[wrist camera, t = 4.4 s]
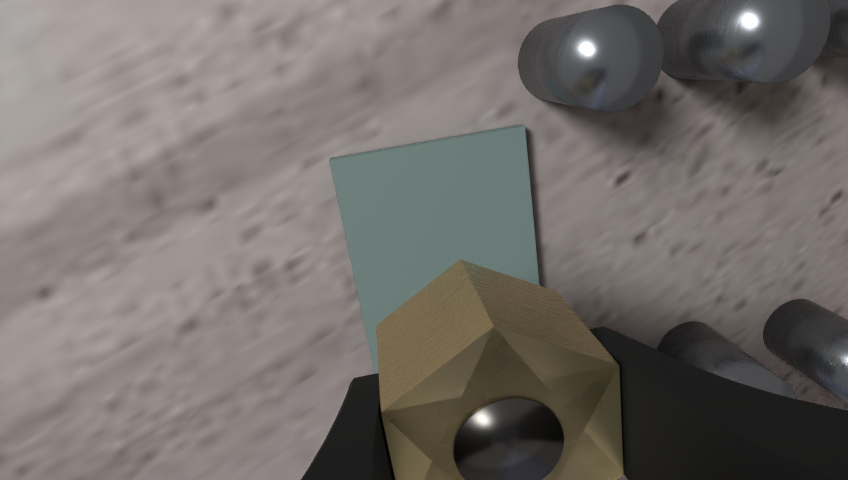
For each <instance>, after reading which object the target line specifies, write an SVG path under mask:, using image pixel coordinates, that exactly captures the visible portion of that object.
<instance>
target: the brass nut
mask: <svg viewBox="0 0 848 480" xmlns="http://www.w3.org/2000/svg"><path fill="white" fill-rule="evenodd" d="M376 335H377V353H378V370H379V388H380V405H381V415H382V420H383V425H384V429H385V434H386V439H387V443H388V448H389V453H390V457H391V462H392V467H393V471H394V476H395V480H617V479H619V478H620V477H622V476H623V450H622V425H621V399H620V373H619V364H618V363H617V362H616V361H615V360H614V358H613V357H612V356H611V355H610V354H609V352H608V351H607V350H606V349H605V348H604V347H603V345H602V344H601V343H600V342H599V341H598V340H597V338H596V337H595V336H594V335H593V334H592V333H591V331H590V330H589V329H588V328H587V327H586V325H585V324H584V323H583V322H582V321H581V320H580V318H579V317H578V316H577V315H576V314H575V313H574V311H573V310H572V309H571V308H570V307H569V306H568V304H567V303H566V302H565V301H564V300H563V298H562V297H561V296H560V295H559V294H558V293H557V291H554V290H551V289H548V288H545V287H542V286H539V285H536V284H533V283H530V282H527V281H524V280H521V279H518V278H515V277H512V276H509V275H506V274H503V273H500V272H497V271H494V270H491V269H488V268H485V267H482V266H479V265H476V264H473V263H470V262H467V261H464V260H461V259H460V260H458V261H457V262H456V263H455V264H453V265H452V266H451V267H449V268H448V269H447V270H446V271H444V272H443V273H442V274H441V275H439V276H438V277H437V278H436V279H434V280H433V281H432V282H430V283H429V284H428V285H427V286H425V287H424V288H423V289H422V290H420V291H419V292H418V293H417V294H415V295H414V296H413V297H411V298H410V299H409V300H408V301H406V302H405V303H404V304H403V305H401V306H400V307H399V308H398V309H396V310H395V311H394V312H392V313H391V314H390V315H389V316H387V317H386V318H385V319H384V320H382V321H381V322H380V323H379V324H377V325H376Z"/></svg>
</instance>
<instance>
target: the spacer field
mask: <svg viewBox="0 0 848 480" xmlns="http://www.w3.org/2000/svg"><path fill="white" fill-rule="evenodd" d="M818 57H848V0H679V1H677V2H675V3H674V4H672V5H671V6H670V7H669V8H668V9H667V10H666V11H665V12H664V13H663V15H662V16H661V18H660V19H659V21H658V23H657V25H656V24H655V22H654V21H653V20H652V19H651V18H650V16H649V15H647V14H646V13H645V12H643V11H642V10H640V9H638V8H635V7H633V6H628V5H613V6H608V7H604V8H599V9H594V10H590V11H585V12H581V13H576V14H572V15H567V16H563V17H558V18H554V19H549V20H546V21H544V22H542V23H540V24H538V25H537V26H536V27H534V28H533V29H532V30H531V31H530V32H529V34H528V35H527V36H526V38H525V39H524V41H523V43H522V45H521V48H520V52H519V57H518V69H519V74H520V78H521V80H522V82H523V84H524V86H525V87H526V88H527V90H528V91H529V92H530V93H531V94H533V95H534V96H536V97H537V98H539V99H542V100H545V101H551V102H556V103H561V104H566V105H572V106H577V107H582V108H588V109H593V110H598V111H604V112H615V111H621V110H624V109H627V108H629V107H631V106H633V105H635V104H636V103H638V102H639V101H641V100H642V99H643V98H644V97H645V96H646V95H647V94H648V93H649V92H650V90H651V89H652V87H653V86H654V84H655V83H656V81H657V79H658V76H659V74H660V71H661V69H662V70H663V71H664V72H665V73H667V74H668V75H670V76H672V77H675V78H679V79H698V80H720V81H741V82H763V83H781V82H785V81H788V80H791V79H793V78H795V77H797V76H799V75H800V74H802V73H803V72H804V71H806V70H807V69H808V68H809V67H810V66H811V65H812V64H813V63H814V61H815V60H816V59H817V58H818ZM763 338H764V343H765V345H766V347H767V348H768V350H770V351H771V352H772V353H774V354H775V355H776V356H778V357H779V358H781V359H782V360H784V361H785V362H787V363H788V364H790V365H791V366H793V367H794V368H796V369H797V370H798V371H800V372H801V373H803V374H804V375H806V376H807V377H809V378H810V379H812V380H813V381H815V382H816V383H817V384H819V385H820V386H822V387H823V388H825V389H826V390H828V391H829V392H831V393H832V394H834V395H835V396H836V397H838V398H839V399H841V400H842V401H844V402H845V403H847V404H848V320H847V319H845V318H843V317H841V316H839V315H837V314H835V313H833V312H831V311H829V310H827V309H825V308H823V307H821V306H819V305H817V304H815V303H814V302H811V301H809V300H805V299H797V300H792V301H789V302H787V303H785V304H783V305H782V306H780V307H779V308H778V309H776V310H775V311H774V312H773V313H772V315H771V316H770V317H769V319H768V321H767V323H766V325H765V328H764V333H763ZM658 351H660V352H662V353H664V354H666V355H669V356H671V357H673V358H676V359H678V360H680V361H683V362H685V363H688V364H690V365H692V366H695V367H697V368H700V369H703V370H705V371H708V372H711V373H713V374H716V375H718V376H721V377H724V378H727V379H729V380H732V381H735V382H738V383H741V384H745V385H748V386H751V387H754V388H758V389H761V390H764V391H768V392H771V393H774V394H778V395H782V396H786V397H789V398H793V399H796V395H795V392H794V390H793V389H792V388H791V386H790V385H788V384H787V383H786V382H784V381H783V380H782V379H780V378H779V377H778V376H776V375H775V374H773V373H772V372H771V371H769V370H768V369H767V368H765V367H764V366H763V365H761V364H760V363H758V362H757V361H756V360H754V359H753V358H752V357H750V356H749V355H747V354H746V353H745V352H743V351H742V350H741V349H739V348H738V347H737V346H735V345H734V344H732V343H731V342H730V341H728V340H727V339H726V338H724V337H723V336H721V335H720V334H719V333H717V332H716V331H715V330H713V329H712V328H711V327H709V326H708V325H706V324H704V323H701V322H686V323H683V324H680V325H678V326H676V327H675V328H673V329H672V330H670V331H669V332H668V333H667V334H666V335H665V336H664V338H663V339H662V341H661V343H660V345H659V347H658ZM623 475H625V474H624V473H623Z"/></svg>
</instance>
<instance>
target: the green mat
mask: <svg viewBox="0 0 848 480" xmlns="http://www.w3.org/2000/svg"><path fill="white" fill-rule="evenodd" d="M329 161H330V166H331V170H332V175H333V180H334V184H335V189H336V194H337V199H338V203H339V208H340V213H341V217H342V222H343V227H344V231H345V236H346V241H347V245H348V250H349V255H350V259H351V264H352V269H353V274H354V278H355V283H356V288H357V292H358V297H359V302H360V306H361V311H362V316H363V320H364V325H365V330H366V335H367V339H368V344H369V349H370V353H371V358H372V363H373V367H374V372H375V374H377V373H379V370H378V353H377V335H376V325H377V324H379V323H380V322H381V321H382V320H384V319H385V318H386V317H387V316H389V315H390V314H391V313H392V312H394V311H395V310H396V309H398V308H399V307H400V306H401V305H403V304H404V303H405V302H406V301H408V300H409V299H410V298H411V297H413V296H414V295H415V294H417V293H418V292H419V291H420V290H422V289H423V288H424V287H425V286H427V285H428V284H429V283H430V282H432V281H433V280H434V279H436V278H437V277H438V276H439V275H441V274H442V273H443V272H444V271H446V270H447V269H448V268H449V267H451V266H452V265H453V264H455V263H456V262H457V261H458V260H460V259H461V260H464V261H467V262H470V263H473V264H476V265H479V266H482V267H485V268H488V269H491V270H494V271H497V272H500V273H503V274H506V275H509V276H512V277H515V278H518V279H521V280H524V281H527V282H530V283H533V284H536V285H539V275H538V264H537V253H536V242H535V231H534V220H533V209H532V198H531V187H530V176H529V165H528V154H527V143H526V132H525V126H523V125H515V126H510V127H504V128H498V129H493V130H487V131H481V132H476V133H470V134H464V135H458V136H453V137H447V138H441V139H436V140H430V141H424V142H419V143H413V144H407V145H401V146H396V147H390V148H384V149H379V150H373V151H367V152H362V153H356V154H350V155H345V156H339V157H333V158H330V160H329Z"/></svg>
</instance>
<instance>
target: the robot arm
mask: <svg viewBox="0 0 848 480" xmlns="http://www.w3.org/2000/svg"><path fill="white" fill-rule="evenodd" d="M589 330H590V331H591V333H592V334H593V335H594V336H595V337H596V338H597V340H598V341H599V342H600V343H601V344H602V345H603V347H604V348H605V349H606V350H607V351H608V352H609V354H610V355H611V356H612V357H613V358H614V360H615V361H616V362H617V363H618V364H619V373H620V399H621V425H622V450H623V473H624V474H625V476H626V477H627V479H628V480H848V410H842V409H837V408H832V407H828V406H823V405H819V404H815V403H810V402H806V401H802V400H797V399H793V398H789V397H786V396H782V395H778V394H774V393H771V392H768V391H764V390H761V389H758V388H754V387H751V386H748V385H745V384H741V383H738V382H735V381H732V380H729V379H727V378H724V377H721V376H718V375H716V374H713V373H711V372H708V371H705V370H703V369H700V368H697V367H695V366H692V365H690V364H688V363H685V362H683V361H680V360H678V359H676V358H673V357H671V356H669V355H666V354H664V353H662V352H660V351H657V350H655V349H653V348H651V347H649V346H646V345H644V344H642V343H640V342H638V341H636V340H633V339H631V338H629V337H627V336H624V335H622V334H620V333H618V332H615V331H613V330H611V329H608V328H605V327H599V328H594V329H589ZM301 480H395V476H394V471H393V467H392V462H391V457H390V453H389V448H388V443H387V439H386V434H385V429H384V425H383V420H382V415H381V405H380V388H379V373H377V374H372V375H367V376H362V377H357V378H354V379H353V381H352V382H351V383H350V386H349V389H348V392H347V394H346V397H345V399H344V402H343V404H342V406H341V409H340V411H339V413H338V415H337V417H336V419H335V421H334V423H333V425H332V427H331V429H330V431H329V433H328V435H327V437H326V439H325V441H324V443H323V445H322V446H321V448H320V450H319V451H318V453H317V455H316V456H315V458H314V460H313V462H312V463H311V465H310V467H309V468H308V470H307V471H306V473H305V474H304V476H303V477H302V479H301Z"/></svg>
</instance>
